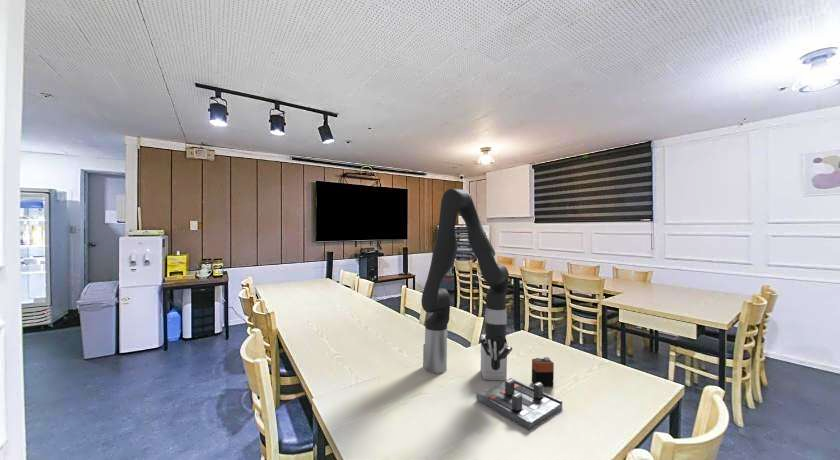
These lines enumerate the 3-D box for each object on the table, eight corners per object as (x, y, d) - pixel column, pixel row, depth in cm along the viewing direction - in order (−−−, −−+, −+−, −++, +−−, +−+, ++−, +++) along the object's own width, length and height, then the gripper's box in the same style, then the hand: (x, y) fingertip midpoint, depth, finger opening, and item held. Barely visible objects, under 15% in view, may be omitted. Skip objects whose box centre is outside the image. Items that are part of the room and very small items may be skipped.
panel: (476, 400, 107) (476, 393, 107) (510, 384, 119) (510, 377, 119) (528, 431, 91) (528, 422, 92) (562, 409, 103) (562, 401, 103)
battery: (553, 387, 118) (554, 360, 118) (536, 387, 117) (536, 360, 117) (548, 381, 122) (548, 355, 122) (531, 382, 122) (531, 356, 122)
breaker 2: (511, 408, 99) (511, 394, 99) (516, 405, 100) (516, 392, 100) (517, 411, 97) (517, 397, 97) (522, 408, 99) (522, 394, 99)
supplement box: (507, 381, 122) (507, 342, 122) (483, 380, 122) (484, 341, 122) (502, 370, 131) (502, 334, 131) (480, 370, 131) (480, 333, 131)
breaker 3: (533, 396, 106) (533, 383, 106) (537, 393, 108) (537, 381, 108) (538, 398, 105) (539, 386, 105) (543, 396, 106) (543, 383, 106)
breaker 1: (504, 392, 108) (505, 380, 108) (509, 390, 110) (509, 378, 110) (509, 395, 106) (510, 382, 106) (514, 393, 108) (514, 380, 108)
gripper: (474, 318, 116) (474, 365, 116) (504, 326, 105) (504, 379, 105) (488, 315, 120) (488, 360, 120) (517, 323, 110) (517, 373, 110)
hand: (495, 369), depth 113 cm, fingers closed
